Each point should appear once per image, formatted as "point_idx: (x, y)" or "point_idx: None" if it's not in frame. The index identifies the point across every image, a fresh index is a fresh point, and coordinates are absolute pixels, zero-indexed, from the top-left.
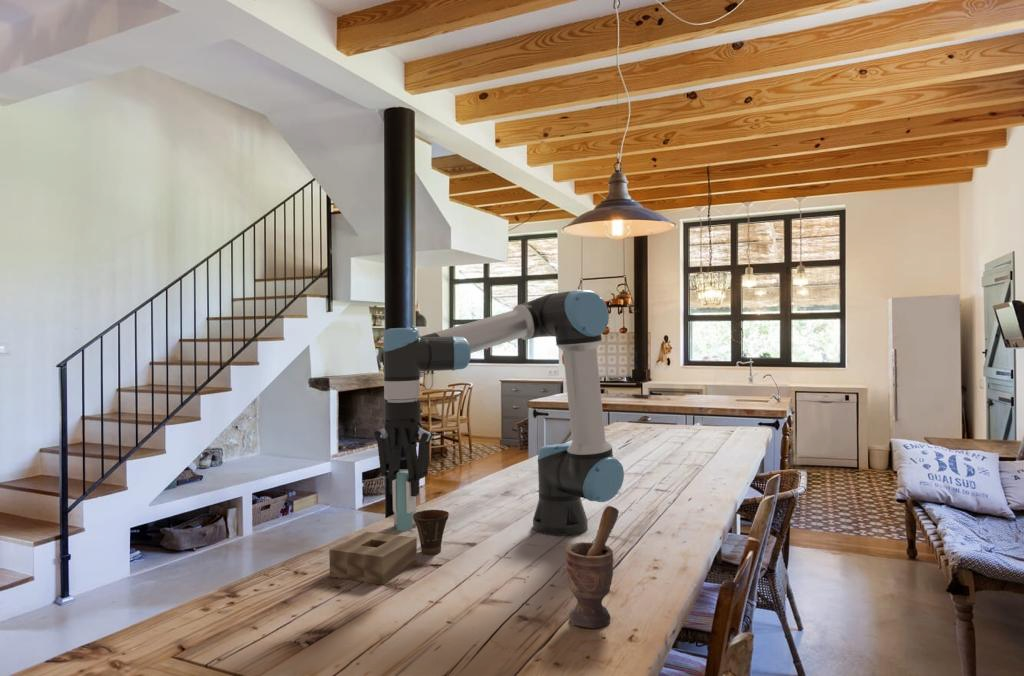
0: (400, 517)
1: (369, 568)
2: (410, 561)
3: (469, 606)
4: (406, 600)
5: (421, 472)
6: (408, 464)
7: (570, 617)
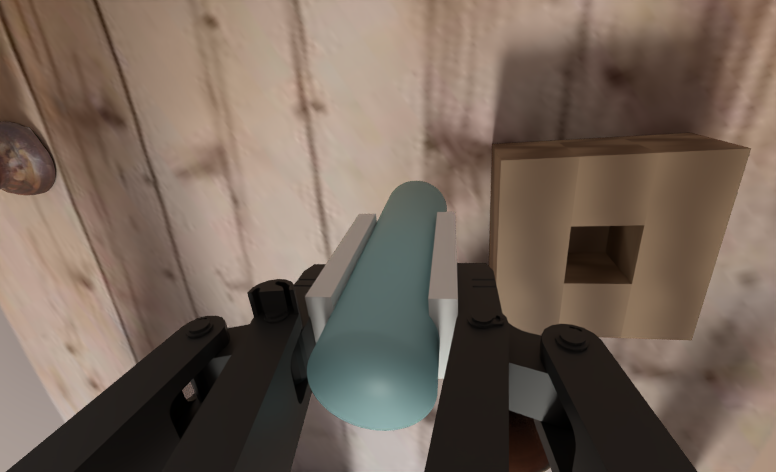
0: (408, 198)
1: (545, 149)
2: None
3: (228, 120)
4: (374, 84)
5: (154, 350)
6: (241, 412)
7: (31, 139)
